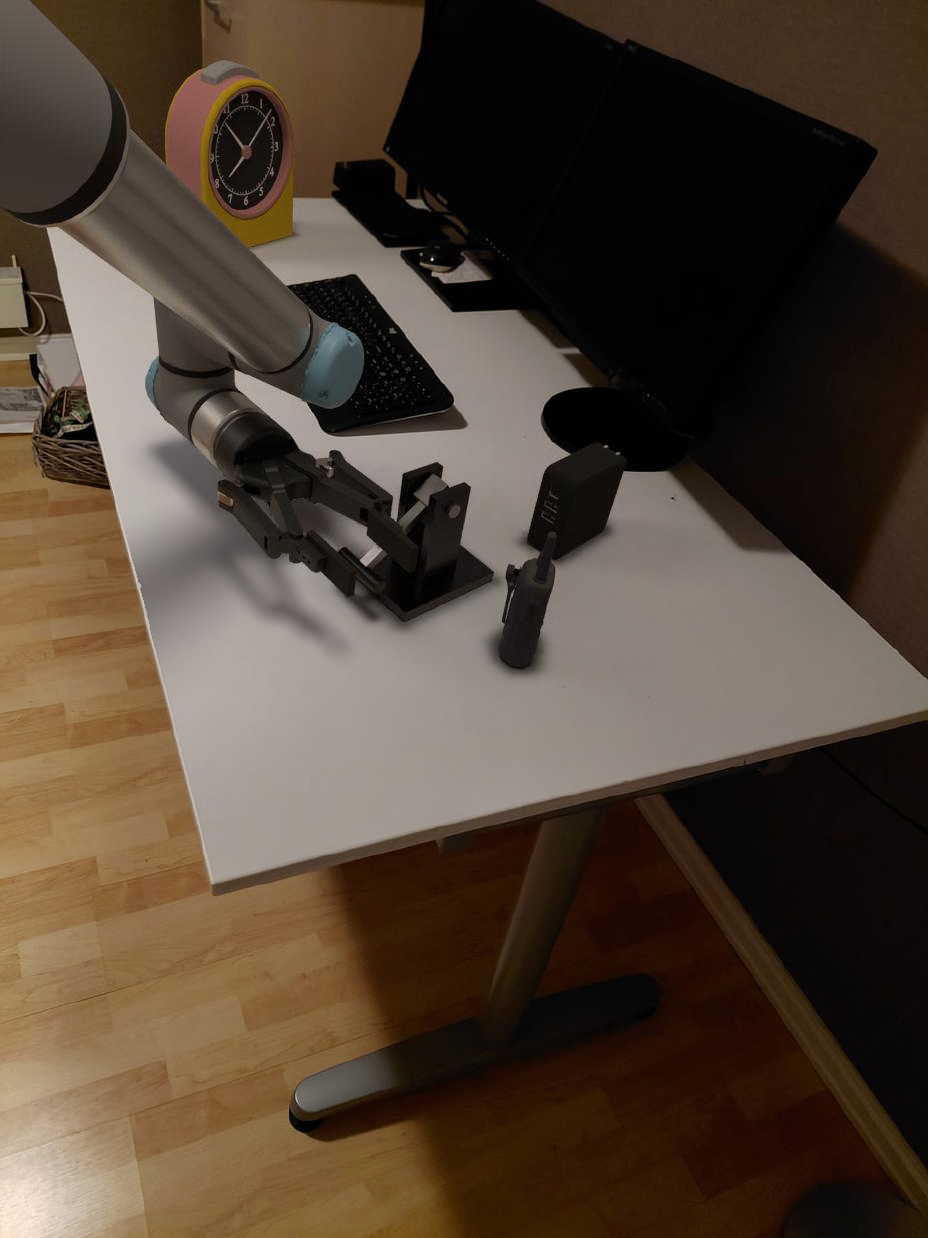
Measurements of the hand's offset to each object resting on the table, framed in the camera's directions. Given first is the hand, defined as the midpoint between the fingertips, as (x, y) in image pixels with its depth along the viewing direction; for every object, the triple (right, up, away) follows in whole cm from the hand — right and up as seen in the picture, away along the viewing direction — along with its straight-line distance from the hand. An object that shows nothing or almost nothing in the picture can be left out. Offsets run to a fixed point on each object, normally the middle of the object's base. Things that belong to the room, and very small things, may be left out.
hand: (383, 571), depth 73 cm
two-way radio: (+12, -7, +8) cm, 16 cm away
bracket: (+3, 0, +14) cm, 14 cm away
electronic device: (+19, +5, +23) cm, 30 cm away
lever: (+1, +4, +8) cm, 9 cm away
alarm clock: (-33, +63, +75) cm, 104 cm away
